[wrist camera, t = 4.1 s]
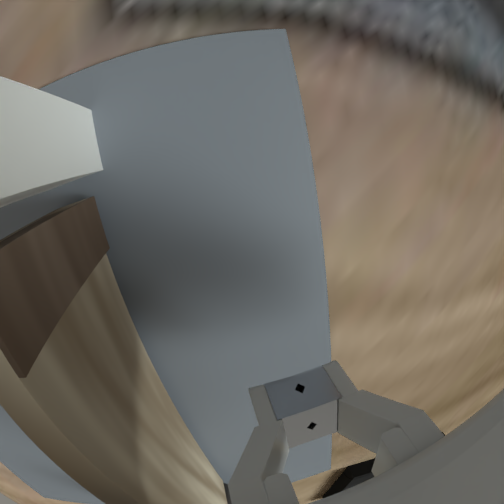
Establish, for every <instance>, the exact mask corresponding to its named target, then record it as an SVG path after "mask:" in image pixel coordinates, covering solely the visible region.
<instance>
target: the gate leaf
mask: <svg viewBox="0 0 504 504" xmlns="http://www.w3.org/2000/svg"><path fill="white" fill-rule="evenodd" d="M109 248H110V247H109V244H108V241H107V238H106V235H105V232H104V229H103V225H102V222H101V219H100V215H99V212H98V208H97V205H96V201H95V197H94V196H92V197H89V198H86V199H84V200H81V201H78V202H75V203H72V204H69V205H67V206H64V207H61V208H58V209H56V210H54V211H52V212H50V213H48V214H46V215H44V216H43V217H41V218H39V219H37V220H35V221H33V222H31V223H29V224H28V225H26V226H24V227H22V228H20V229H19V230H17V231H15V232H13V233H11V234H10V235H8V236H6V237H5V238H3V239H1V240H0V405H1V406H2V407H3V408H4V410H5V411H6V412H7V413H8V415H9V416H10V417H11V418H12V419H13V420H14V422H15V423H16V424H17V425H18V426H19V427H20V428H21V430H22V431H23V432H24V433H25V434H26V435H27V436H28V437H29V438H30V439H31V440H32V441H33V442H34V443H35V444H36V446H37V447H38V448H39V449H40V450H41V451H42V452H44V453H45V454H46V455H47V456H48V457H49V458H50V459H51V460H52V461H53V462H54V463H55V464H56V465H57V466H58V467H60V468H61V469H62V470H63V471H64V472H65V473H66V474H68V475H69V476H70V477H71V478H72V479H74V480H75V481H76V482H77V483H78V484H80V485H81V486H82V487H83V488H85V489H86V490H87V491H89V492H90V493H91V494H93V495H94V496H95V497H97V498H98V499H99V500H101V501H102V502H104V503H105V504H232V503H231V498H230V493H229V488H228V484H226V483H223V480H222V479H221V478H220V476H219V475H218V473H217V472H216V471H215V469H214V468H213V466H212V465H211V463H210V462H209V460H208V459H207V457H206V456H205V454H204V453H203V451H202V450H201V448H200V447H199V445H198V444H197V442H196V441H195V439H194V437H193V436H192V434H191V433H190V431H189V429H188V428H187V426H186V424H185V423H184V421H183V419H182V418H181V416H180V414H179V413H178V411H177V409H176V407H175V406H174V404H173V402H172V400H171V398H170V397H169V395H168V393H167V391H166V389H165V387H164V386H163V384H162V382H161V380H160V378H159V376H158V374H157V372H156V370H155V368H154V366H153V364H152V362H151V360H150V358H149V356H148V354H147V352H146V350H145V348H144V346H143V343H142V341H141V339H140V337H139V335H138V332H137V330H136V328H135V326H134V323H133V321H132V319H131V316H130V314H129V312H128V309H127V307H126V305H125V302H124V300H123V297H122V295H121V292H120V289H119V287H118V284H117V282H116V279H115V276H114V274H113V271H112V268H111V265H110V263H109V260H108V257H107V254H106V252H107V251H108V250H109Z"/></svg>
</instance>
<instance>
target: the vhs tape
mask: <svg viewBox="0 0 504 504" xmlns="http://www.w3.org/2000/svg"><path fill="white" fill-rule="evenodd" d="M442 433H443V432H442ZM443 435H444V433H443ZM444 436H445V435H444ZM374 461H375V458H374V459H371V460H368V461H365V462H361V463H358V464H354V465H351V466H348V467H347V468H346V469H345V471H344V472H343V473H342V474H341V476H340V477H339V478H338V479H337V480H336V482H335V483H334V484H333V485H332V486H331V488H330V489H329V490H328V491H327V492H326V493H325V495H324V496H323V498H326V497H329V496H331V495H334V494H337V493H339V492H342V491H344V490H346V489H349V488H351V487H354V486H356V485H358V484H360V483H363V482H365V481H367V480H369V479H371V478H373V477H374V475H373V473H372V471H371V470H372V467H373V464H374Z"/></svg>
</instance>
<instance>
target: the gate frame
mask: <svg viewBox="0 0 504 504" xmlns="http://www.w3.org/2000/svg"><path fill="white" fill-rule="evenodd" d="M92 196H94V197H95V201H96V205H97V208H98V212H99V215H100V219H101V222H102V225H103V229H104V232H105V235H106V238H107V241H108V244H109V247H110V248H109V250H108V251H107V252H106V254H107V257H108V260H109V263H110V265H111V268H112V271H113V274H114V276H115V279H116V282H117V284H118V287H119V289H120V292H121V295H122V297H123V300H124V302H125V305H126V307H127V309H128V312H129V314H130V316H131V319H132V321H133V323H134V326H135V328H136V330H137V332H138V335H139V337H140V339H141V341H142V343H143V346H144V348H145V350H146V352H147V354H148V356H149V358H150V360H151V362H152V364H153V366H154V368H155V370H156V372H157V374H158V376H159V378H160V380H161V382H162V384H163V386H164V387H165V389H166V391H167V393H168V395H169V397H170V398H171V400H172V402H173V404H174V406H175V407H176V409H177V411H178V413H179V414H180V416H181V418H182V419H183V421H184V423H185V424H186V426H187V428H188V429H189V431H190V433H191V434H192V436H193V437H194V439H195V441H196V442H197V444H198V445H199V447H200V448H201V450H202V451H203V453H204V454H205V456H206V457H207V459H208V460H209V462H210V463H211V465H212V466H213V468H214V469H215V471H216V472H217V473H218V475H219V476H220V478H221V479H222V480H223V483H226V484H228V483H229V481H230V479H231V477H232V475H233V473H234V471H235V469H236V466H237V464H238V462H239V460H240V458H241V456H242V454H243V452H244V449H245V447H246V445H247V443H248V441H249V438H250V436H251V434H252V432H253V429H254V427H257V426H259V424H258V421H257V418H256V414H255V411H254V408H253V404H252V401H251V398H250V394H249V389H248V388H250V387H254V386H258V385H262V384H263V385H264V384H265V383H269V382H273V381H276V380H280V379H283V378H287V377H290V376H293V375H296V374H298V373H301V372H304V371H307V370H310V369H313V368H316V367H318V366H321V365H324V364H327V363H329V362H331V345H330V325H329V309H328V295H327V282H326V270H325V259H324V249H323V240H322V231H321V222H320V214H319V206H318V198H317V191H316V184H315V177H314V170H313V163H312V157H311V151H310V145H309V139H308V133H307V127H306V122H305V116H304V111H303V106H302V101H301V96H300V91H299V86H298V81H297V76H296V72H295V67H294V63H293V58H292V54H291V50H290V46H289V42H288V37H287V33H286V29H270V30H254V31H242V32H233V33H224V34H217V35H210V36H204V37H198V38H192V39H187V40H182V41H177V42H172V43H168V44H163V45H159V46H155V47H151V48H147V49H144V50H140V51H136V52H133V53H130V54H126V55H123V56H120V57H117V58H114V59H111V60H108V61H105V62H102V63H99V64H96V65H94V66H91V67H88V68H86V69H83V70H81V71H78V72H76V73H73V74H71V75H69V76H66V77H64V78H62V79H60V80H57V81H55V82H53V83H51V84H49V85H47V86H45V87H43V88H41V89H36V88H33V87H30V86H28V85H25V84H22V83H19V82H16V81H13V80H10V79H7V78H4V77H1V76H0V240H1V239H3V238H5V237H6V236H8V235H10V234H11V233H13V232H15V231H17V230H19V229H20V228H22V227H24V226H26V225H28V224H29V223H31V222H33V221H35V220H37V219H39V218H41V217H43V216H44V215H46V214H48V213H50V212H52V211H54V210H56V209H58V208H61V207H64V206H67V205H69V204H72V203H75V202H78V201H81V200H84V199H86V198H89V197H92ZM331 445H332V434H329V435H327V436H324V437H321V438H318V439H315V440H312V441H309V442H307V443H304V444H301V445H298V446H296V447H293V448H290V449H289V453H288V457H287V460H286V464H285V467H284V470H283V473H284V474H287V475H288V476H289V479H290V481H291V482H294V481H297V480H301V479H304V478H307V477H310V476H313V475H316V474H318V473H321V472H324V471H327V470H329V469H331ZM0 461H1V462H2V463H3V464H4V465H5V466H6V467H7V468H8V469H9V470H11V471H12V472H13V473H14V474H15V475H16V476H18V477H19V478H20V479H21V480H22V481H24V482H25V483H26V484H27V485H28V486H30V487H31V488H32V489H34V490H35V491H36V492H38V493H39V494H40V495H42V496H43V497H45V498H51V499H56V500H63V501H70V502H78V503H87V504H105V503H104V502H102V501H101V500H99V499H98V498H97V497H95V496H94V495H93V494H91V493H90V492H89V491H87V490H86V489H85V488H83V487H82V486H81V485H80V484H78V483H77V482H76V481H75V480H74V479H72V478H71V477H70V476H69V475H68V474H66V473H65V472H64V471H63V470H62V469H61V468H60V467H58V466H57V465H56V464H55V463H54V462H53V461H52V460H51V459H50V458H49V457H48V456H47V455H46V454H45V453H44V452H42V451H41V450H40V449H39V448H38V447H37V446H36V444H35V443H34V442H33V441H32V440H31V439H30V438H29V437H28V436H27V435H26V434H25V433H24V432H23V431H22V430H21V428H20V427H19V426H18V425H17V424H16V423H15V422H14V420H13V419H12V418H11V417H10V416H9V415H8V413H7V412H6V411H5V410H4V408H3V407H2V406H1V405H0Z"/></svg>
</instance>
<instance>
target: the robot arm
mask: <svg viewBox="0 0 504 504" xmlns="http://www.w3.org/2000/svg"><path fill="white" fill-rule="evenodd" d="M248 389H249V394H250V398H251V401H252V404H253V408H254V411H255V414H256V418H257V421H258V424H259V426H257V427H254V429H253V432H252V434H251V436H250V438H249V441H248V443H247V445H246V447H245V449H244V452H243V454H242V456H241V458H240V460H239V462H238V464H237V466H236V469H235V471H234V473H233V475H232V477H231V479H230V481H229V483H228V488H229V493H230V498H231V503H232V504H299V502H298V499H297V497H296V494H295V492H294V489H293V487H292V484H291V481H290V479H289V476H288V475H287V474H284V473H283V470H284V467H285V464H286V460H287V457H288V453H289V449H290V448H293V447H296V446H298V445H301V444H304V443H307V442H309V441H312V440H315V439H318V438H321V437H324V436H327V435H329V434H332V433H335V432H338V433H339V434H341V435H343V436H345V437H346V438H348V439H350V440H352V441H354V442H355V443H357V444H359V445H361V446H363V447H365V448H366V449H368V450H370V451H372V452H374V453H376V458H375V461H374V464H373V467H372V470H371V471H372V473H373V475H374V477H373V478H371V479H369V480H367V481H365V482H363V483H360V484H358V485H356V486H354V487H351V488H349V489H346V490H344V491H342V492H339V493H337V494H334V495H331V496H329V497H326V498H323V499H320V500H318V501H315V502H312V503H309V504H504V389H503V390H502V391H501V392H500V393H498V394H497V395H496V396H495V397H494V398H493V399H492V400H491V401H489V402H488V403H487V404H486V405H485V406H484V407H482V408H481V409H480V410H479V411H478V412H476V413H475V414H474V415H473V416H471V417H470V418H469V419H468V420H466V421H465V422H464V423H462V424H461V425H460V426H458V427H457V428H456V429H454V430H453V431H451V432H450V433H449V434H447V435H446V436H444V435H443V433H442V432H441V431H440V430H439V428H438V427H437V426H436V425H435V424H434V422H433V421H432V420H431V419H430V418H429V417H428V415H427V414H426V413H425V412H424V411H423V410H421V409H418V408H414V407H411V406H408V405H405V404H402V403H399V402H396V401H393V400H390V399H387V398H385V397H382V396H379V395H376V394H373V393H371V392H368V391H365V390H360V391H358V390H357V388H356V387H355V386H354V384H353V383H352V381H351V380H350V378H349V377H348V376H347V374H346V373H345V371H344V370H343V369H342V367H341V366H340V364H339V363H338V362H337V361H332V362H329V363H327V364H324V365H321V366H318V367H316V368H313V369H310V370H307V371H304V372H301V373H298V374H296V375H293V376H290V377H287V378H283V379H280V380H276V381H273V382H269V383H265V384H264V385H263V384H262V385H258V386H254V387H250V388H248Z"/></svg>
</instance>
